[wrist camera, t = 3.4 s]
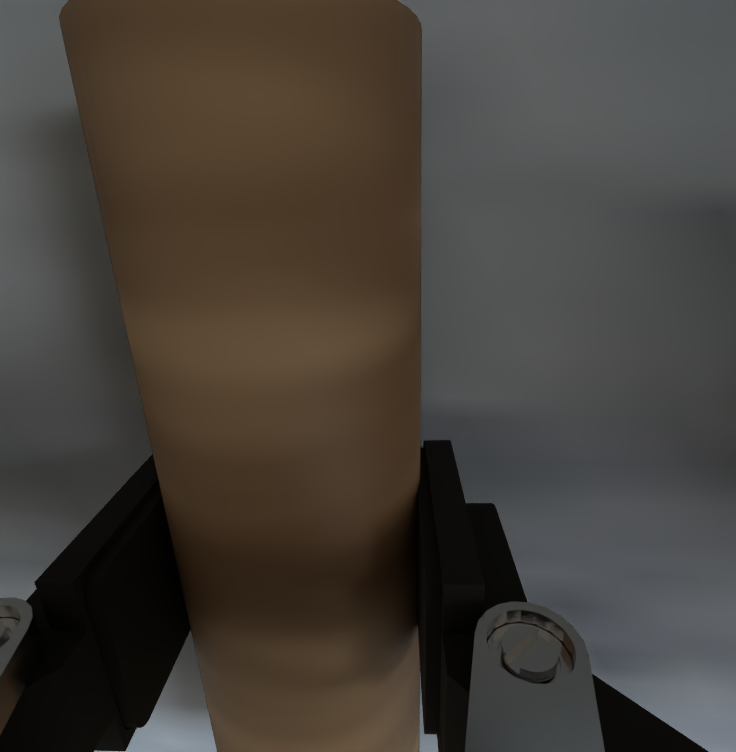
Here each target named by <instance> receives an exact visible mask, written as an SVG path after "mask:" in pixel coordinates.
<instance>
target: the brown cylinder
mask: <svg viewBox="0 0 736 752" xmlns="http://www.w3.org/2000/svg"><path fill="white" fill-rule="evenodd" d="M59 19H60V26H61V31H62V35H63V40H64V45H65V49H66V54H67V59H68V63H69V68H70V72H71V77H72V82H73V86H74V91H75V96H76V100H77V105H78V109H79V114H80V119H81V123H82V128H83V133H84V137H85V142H86V146H87V151H88V156H89V160H90V165H91V170H92V174H93V179H94V183H95V188H96V193H97V197H98V202H99V207H100V211H101V216H102V221H103V225H104V230H105V234H106V239H107V244H108V248H109V253H110V258H111V262H112V267H113V271H114V276H115V281H116V285H117V290H118V295H119V299H120V304H121V308H122V313H123V318H124V322H125V327H126V332H127V336H128V341H129V345H130V350H131V355H132V359H133V364H134V369H135V373H136V378H137V383H138V387H139V392H140V396H141V401H142V406H143V410H144V415H145V420H146V424H147V429H148V433H149V438H150V443H151V447H152V452H153V457H154V461H155V466H156V470H157V475H158V480H159V484H160V489H161V494H162V498H163V503H164V507H165V512H166V517H167V521H168V526H169V531H170V535H171V540H172V545H173V549H174V554H175V558H176V563H177V568H178V572H179V577H180V582H181V586H182V591H183V595H184V600H185V605H186V609H187V614H188V619H189V623H190V628H191V632H192V637H193V642H194V646H195V651H196V656H197V660H198V665H199V669H200V674H201V679H202V683H203V688H204V693H205V697H206V702H207V707H208V711H209V716H210V720H211V725H212V730H213V734H214V739H215V744H216V748H217V752H419V714H420V656H419V639H418V487H419V484H420V409H421V104H422V29H421V23H420V21H419V19H418V18H417V16H416V15H415V14H414V13H413V12H412V11H411V10H410V9H409V8H408V7H406V6H405V5H403V4H401V3H400V2H398V1H397V0H69V1H68V2H67V3H66V4H65V5H64V7H63V8H62V10H61V13H60V15H59Z"/></svg>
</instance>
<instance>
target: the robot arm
mask: <svg viewBox="0 0 736 752" xmlns="http://www.w3.org/2000/svg"><path fill="white" fill-rule="evenodd" d="M35 585H36V588H37V589H36V590H35V591H34V593H33V594H32V595H31V596H30V597H29V598H28V599H27V600H26V601H25V600H22V599H18V598H0V752H94V750H97V751H126V749H127V747H128V745H129V743H130V740H131V738H132V736H133V734H134V732H135V730H136V728H137V727H138V728H141V727H143V726H144V725H145V724H146V723H147V722H148V720H149V718H150V716H151V714H152V712H153V710H154V707H155V705H156V703H157V701H158V699H159V697H160V694H161V692H162V690H163V688H164V686H165V684H166V681H167V679H168V677H169V675H170V673H171V671H172V668H173V666H174V664H175V662H176V660H177V658H178V655H179V653H180V651H181V649H182V647H183V645H184V642H185V640H186V638H187V636H188V634H189V632H190V629H191V628H190V623H189V619H188V614H187V609H186V605H185V600H184V595H183V591H182V586H181V582H180V577H179V572H178V568H177V563H176V558H175V554H174V549H173V545H172V540H171V535H170V531H169V526H168V521H167V517H166V512H165V507H164V503H163V498H162V494H161V489H160V484H159V480H158V475H157V470H156V466H155V461H154V457H153V454H152V455H151V456H150V457H149V459H148V460H147V461H146V462H145V463H144V464H143V465H142V466H141V467H140V468H139V469H138V470H137V472H136V473H135V474H134V475H133V476H132V477H131V478H130V479H129V480H128V481H127V482H126V483H125V485H124V486H123V487H122V488H121V489H120V490H119V491H118V492H117V493H116V494H115V495H114V497H113V498H112V499H111V500H110V501H109V502H108V503H107V504H106V505H105V506H104V507H103V508H102V510H101V511H100V512H99V513H98V514H97V515H96V516H95V517H94V518H93V519H92V520H91V521H90V523H89V524H88V525H87V526H86V527H85V528H84V529H83V530H82V531H81V532H80V533H79V534H78V536H77V537H76V538H75V539H74V540H73V541H72V542H71V543H70V544H69V545H68V546H67V548H66V549H65V550H64V551H63V552H62V553H61V554H60V555H59V556H58V557H57V558H56V559H55V561H54V562H53V563H52V564H51V565H50V566H49V567H48V568H47V569H46V570H45V571H44V572H43V574H42V575H41V576H40V577H39V578H38V579H37V580H36V581H35ZM418 639H419V656H420V672H421V689H422V705H423V722H424V733H425V734H437V738H438V750H439V752H708V751H707V750H705V749H704V748H702V747H701V746H699V745H698V744H696V743H695V742H693V741H692V740H690V739H689V738H687V737H686V736H684V735H683V734H681V733H680V732H678V731H677V730H675V729H674V728H672V727H671V726H669V725H668V724H666V723H665V722H663V721H662V720H660V719H659V718H657V717H656V716H654V715H653V714H651V713H650V712H648V711H647V710H645V709H644V708H642V707H641V706H639V705H638V704H636V703H635V702H633V701H632V700H630V699H629V698H627V697H626V696H624V695H623V694H621V693H620V692H618V691H617V690H615V689H614V688H612V687H611V686H609V685H608V684H606V683H605V682H603V681H602V680H600V679H599V678H597V677H596V676H594V675H593V674H592V671H591V665H590V659H589V654H588V652H587V649H586V646H585V643H584V640H583V639H582V638H581V636H580V635H579V633H578V632H577V631H576V629H575V628H574V627H573V626H572V625H571V624H570V623H569V622H567V621H566V620H565V619H564V618H563V617H562V616H560V615H559V614H557V613H555V612H553V611H551V610H549V609H547V608H545V607H543V606H539V605H536V604H532V603H529V602H527V600H526V597H525V594H524V591H523V588H522V585H521V582H520V579H519V576H518V573H517V570H516V567H515V564H514V561H513V558H512V555H511V552H510V549H509V546H508V543H507V540H506V537H505V534H504V531H503V528H502V525H501V522H500V519H499V516H498V513H497V510H496V508H495V505H494V504H492V503H465V499H464V495H463V490H462V486H461V482H460V478H459V474H458V470H457V465H456V461H455V457H454V453H453V449H452V445H451V441H450V440H433V441H424V443H423V447H420V484H419V487H418Z"/></svg>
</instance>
